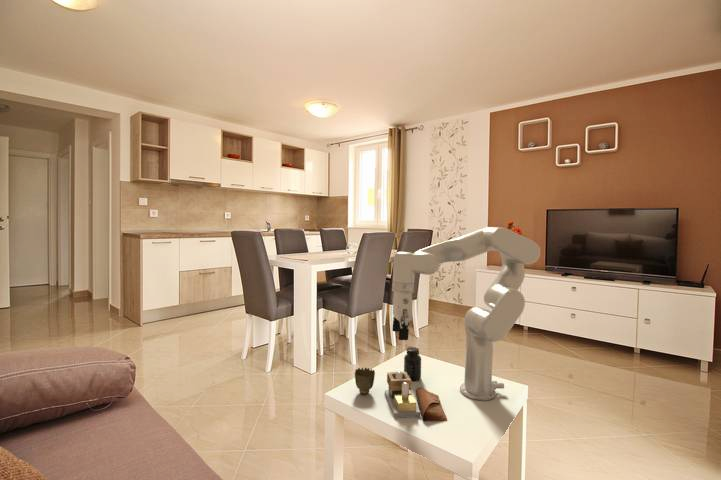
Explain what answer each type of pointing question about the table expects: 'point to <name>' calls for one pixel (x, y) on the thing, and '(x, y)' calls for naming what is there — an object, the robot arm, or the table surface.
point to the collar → (397, 381)
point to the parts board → (394, 410)
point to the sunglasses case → (430, 405)
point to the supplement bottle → (413, 364)
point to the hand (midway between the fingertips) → (399, 335)
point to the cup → (364, 380)
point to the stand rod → (398, 376)
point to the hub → (405, 400)
